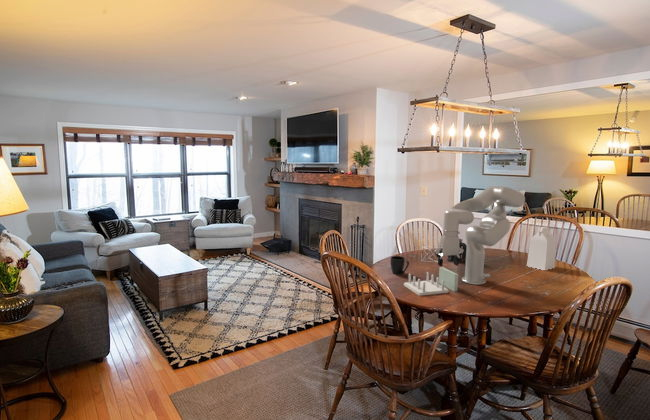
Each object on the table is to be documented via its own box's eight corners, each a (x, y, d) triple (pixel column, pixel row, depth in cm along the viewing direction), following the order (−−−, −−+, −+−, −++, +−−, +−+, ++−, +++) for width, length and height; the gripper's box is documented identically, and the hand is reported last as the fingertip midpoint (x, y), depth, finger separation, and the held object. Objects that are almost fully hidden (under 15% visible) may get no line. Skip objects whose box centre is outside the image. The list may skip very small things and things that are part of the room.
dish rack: (431, 282, 210) (431, 271, 209) (448, 292, 195) (449, 280, 194) (403, 285, 205) (404, 273, 204) (419, 295, 190) (419, 283, 189)
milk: (536, 263, 251) (540, 224, 248) (554, 268, 242) (558, 227, 238) (526, 266, 245) (529, 226, 241) (544, 270, 235) (548, 229, 232)
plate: (438, 282, 210) (439, 267, 209) (441, 282, 211) (442, 266, 210) (454, 291, 197) (455, 274, 196) (457, 291, 198) (458, 274, 196)
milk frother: (444, 260, 256) (445, 239, 254) (454, 256, 268) (455, 235, 266) (465, 264, 247) (466, 242, 244) (474, 260, 258) (475, 238, 256)
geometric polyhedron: (421, 257, 263) (421, 244, 262) (437, 258, 261) (438, 245, 259) (421, 262, 251) (421, 249, 250) (438, 263, 249) (439, 250, 247)
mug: (403, 277, 218) (403, 261, 217) (387, 272, 227) (387, 257, 226) (412, 275, 223) (412, 259, 222) (396, 270, 233) (396, 255, 231)
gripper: (460, 232, 206) (457, 262, 208) (432, 232, 201) (429, 264, 203) (469, 234, 199) (466, 266, 201) (440, 235, 194) (437, 268, 196)
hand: (448, 265), depth 202 cm, fingers open, 9 cm apart
